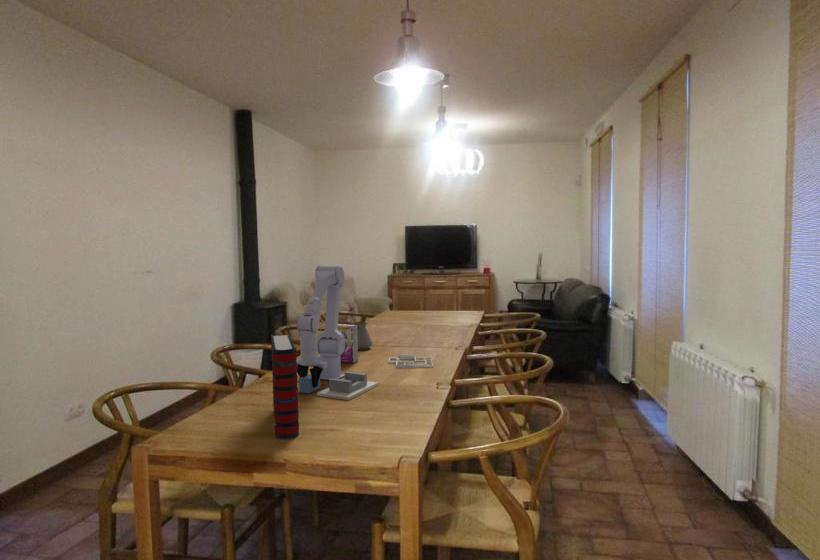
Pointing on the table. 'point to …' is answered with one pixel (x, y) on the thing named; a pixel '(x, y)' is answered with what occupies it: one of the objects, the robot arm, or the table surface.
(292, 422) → the book
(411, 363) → the floor plan model
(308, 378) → the block
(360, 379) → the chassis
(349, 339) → the candy bar box
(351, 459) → the table surface
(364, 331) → the coffee pot
